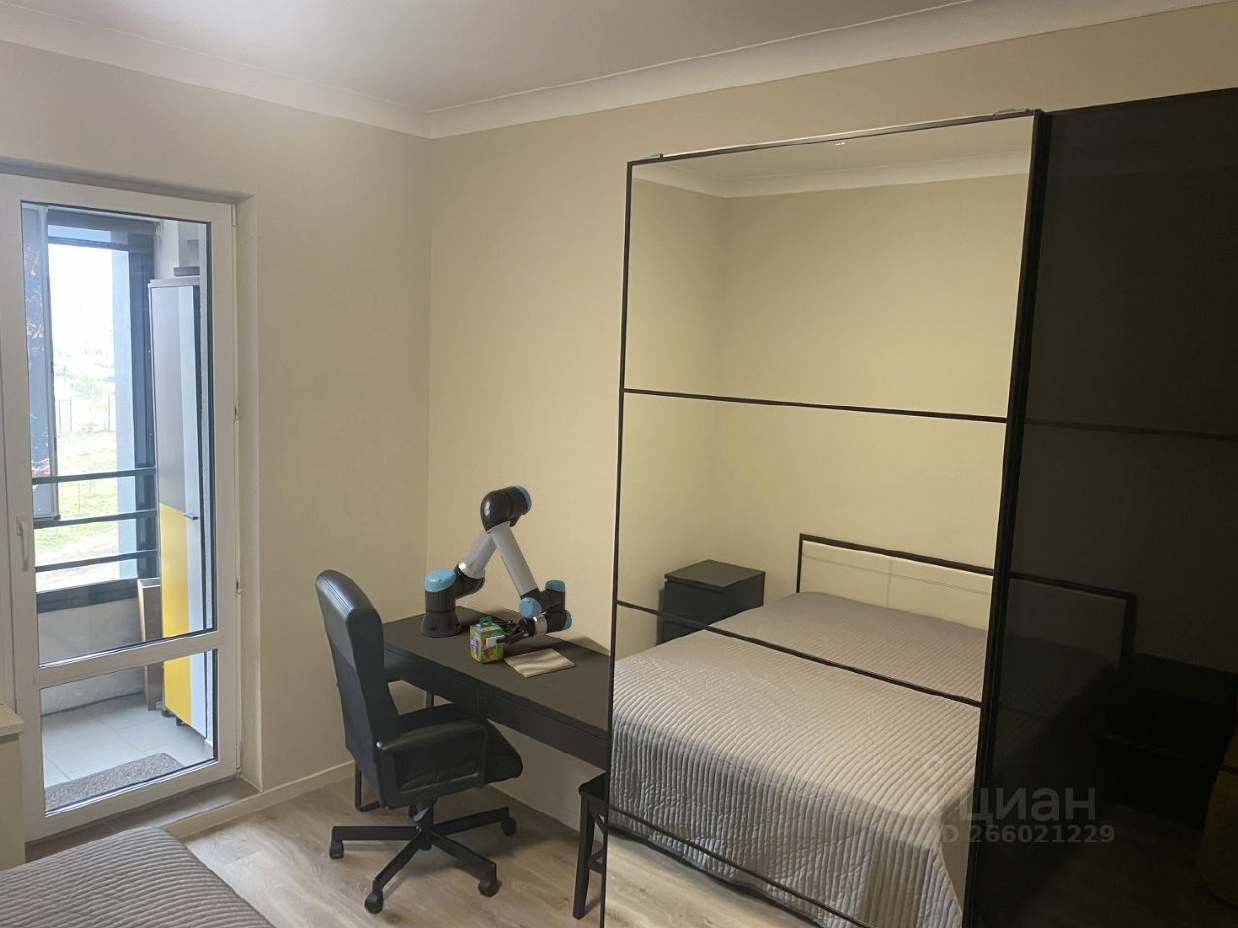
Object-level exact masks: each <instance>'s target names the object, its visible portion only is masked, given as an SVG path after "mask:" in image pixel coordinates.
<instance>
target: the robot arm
mask: <svg viewBox="0 0 1238 928" xmlns="http://www.w3.org/2000/svg"><path fill="white" fill-rule="evenodd" d="M531 509H532V499H531V494H530V493H529V491H528V490H527V489H526V488H524V487H523V486H521V485H510V486H507V487H504V488H500V489H495V490H492V491H489V492H488V493H486V494H485V495H484V497H483V498H482V500H481V502H480V506H479V513H480V521H481V524H482V525H483V527H482V529H481V530H480V532H479V534H478V536H477V537H476V539H475V541H474V542H473V545H472V546H471V547H470V549H469V551H468V552H467V554H466V556H465V557H462V558H460V559H459V560H458V562H457V564H456V565H455V567H454V568H453V569H451V568H440V569H439V568H438V569H434V570H432V571H430V572H428V573H427V574H426V576H425V577H424V578H425V579H424V585H423V586H424V603H425V604H424V606H425V607H424V608H425V613H424V615H423V619H422V622H421V625H420V631H421V634H423V635H424V636H427V637H433V638H445V637H451V636H454V635H455V636H456V635H457V634H458V633H460V632H461V630H462V628H461V621H460V618H459V615H458V613H457V600H460V599H462V598H465V597H467V596H470V595H474V594H476V593H477V592H479V591H480V590H482V589H483V587H484V586H485V583H486V578H485V577H486V569H485V568H486V567H487V565H488V563H489V562H490V560H491V558H492V556H493V555H494V553H495V552H496V550H497V551H498V554H499V556H500V558H501V560H502V563H503V564H504V566H505V568H506V571H507V572H508V575H509V577H510V579H511V582H512V583H513V586H514V588H515V590H516V592H517V594H518V596H519V598H520V601H519V604H518V611H519V613H520V615H521V616H522V617H521V618H520V619H519V621H518V622H514V620H512V619H509V620H492V622H493V623H494V624H497V625H498V626H499V627H501V628H503V633H505V634H503V635H502V636H497V637H492V638H487V639H486V646H487V647H488V646H493V645H498V644H503V645H504V644H508V645H510V646H512V645H514V644H517V643H518V642H520V641H522V640H525V639H528V638H533V637H540V636H541V635H542V636H543V635H547V634H552V633H558V632H563V631H566V630H569V629H570V628H571V627H572V624H573V619H572V614H571V612H570V610H568V609H566V593H567V591H566V583H565V582H564V581H563V580H560V579H550V580H547V581H546V582H545V585H544V586H545V587H544V589H543V590H541V591H540V588H539V586H538V584H537V582H536V580H535V577H534V575H533V573H532V572H531V569H530V567H529V565H528V563H527V561H526V559H525V557H524V553H522V550H521V548H520V546H519V543H518V541H517V540H516V537H515V534H514V533H513V531H512V528H514V527H515V526H517V523H518V522H519V520H520V518H521V517H522V516H526V515H527V514H528V513H529V512H530V510H531ZM487 622H489V621H488V620H485V623H487Z"/></svg>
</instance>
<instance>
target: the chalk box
mask: <svg viewBox="0 0 1238 928" xmlns="http://www.w3.org/2000/svg"><path fill="white" fill-rule="evenodd" d="M486 621H489V622H487V623H486ZM492 621H493V620H492V617H491V616H486V617H482V618H479V623H478V624H473V625H469V626H470V627H469V628H470V629H469V630H470V631H469V632H470V633H469V634H470V635H469V637H470V639H469V640H470V646H469V647H470V654H469V655H470V657H471V658H473V659H474V660H476V661H477V662H479V663H480V664H482V665H483V664H485V663H490V662H494V661H498V660H504V643H503V644H498V645H493V646H488V647H487V646H486V639H487V638H492V637H497V636H502V635H504V631H503V628H501V627H499V626H498V625H497V624H494V623H493V622H492Z"/></svg>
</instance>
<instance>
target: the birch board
mask: <svg viewBox="0 0 1238 928" xmlns="http://www.w3.org/2000/svg"><path fill="white" fill-rule="evenodd" d="M503 660H504V662H505V663H506V664H507V665H509V666H510V667H512V668H513V669H514V670H515V671H517V672H518V673H519V674H521V676H523V677H524V678H529V677H535V676H538V675H542V674H548V673H551V672H552V673H553V672H557V671H561V670H565V669H569V668H573V667H575V663H574V662H573V661H571V660H569V659H568V658H566V657H565V656H564V655H562V654H560V653H559V652H557V651H556V650H554V649H553V648H551V647H550V648H547V649H542V650H537V651H532V652H527V653H523V654H518V655H513V656H509V657H508V656H507V657H503Z"/></svg>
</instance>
